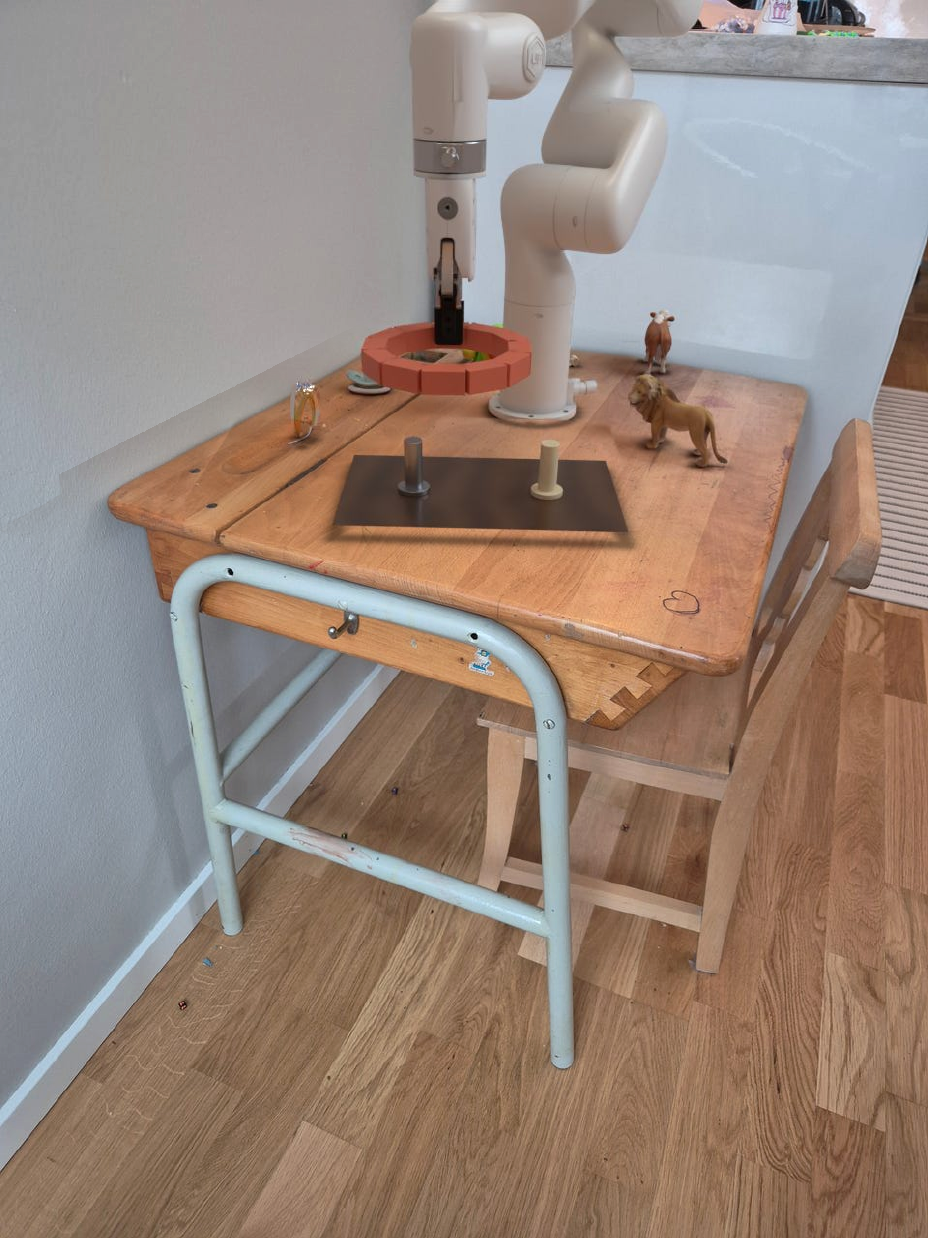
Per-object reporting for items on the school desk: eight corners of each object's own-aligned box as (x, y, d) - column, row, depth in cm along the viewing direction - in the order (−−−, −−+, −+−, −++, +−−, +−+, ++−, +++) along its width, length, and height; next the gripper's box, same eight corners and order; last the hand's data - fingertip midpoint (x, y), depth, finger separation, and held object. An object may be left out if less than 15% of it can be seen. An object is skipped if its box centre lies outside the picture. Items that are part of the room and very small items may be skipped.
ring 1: (306, 451, 110) (301, 390, 105) (284, 448, 110) (278, 387, 106) (331, 433, 115) (327, 374, 111) (310, 430, 116) (305, 371, 112)
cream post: (552, 484, 99) (557, 435, 96) (568, 497, 96) (572, 446, 93) (525, 489, 98) (528, 439, 95) (539, 502, 95) (543, 451, 92)
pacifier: (390, 397, 128) (396, 383, 133) (389, 356, 124) (395, 343, 129) (342, 395, 128) (350, 381, 133) (339, 353, 125) (347, 341, 130)
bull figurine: (668, 356, 148) (676, 307, 144) (666, 380, 137) (674, 328, 133) (643, 354, 149) (649, 305, 144) (638, 377, 138) (645, 325, 133)
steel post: (423, 481, 99) (422, 432, 96) (434, 494, 96) (434, 443, 93) (393, 486, 98) (392, 436, 95) (404, 499, 95) (403, 448, 92)
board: (604, 471, 106) (606, 460, 105) (627, 544, 90) (628, 531, 90) (354, 465, 106) (353, 454, 105) (332, 537, 90) (332, 524, 90)
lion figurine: (615, 442, 114) (623, 376, 109) (636, 432, 118) (644, 366, 113) (717, 473, 106) (730, 402, 102) (736, 460, 110) (750, 391, 105)
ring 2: (533, 396, 85) (534, 372, 84) (353, 393, 85) (352, 369, 84) (526, 344, 100) (527, 323, 98) (374, 341, 100) (373, 320, 99)
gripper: (485, 169, 81) (481, 362, 92) (486, 151, 95) (482, 321, 105) (406, 168, 82) (411, 361, 92) (418, 150, 95) (421, 320, 105)
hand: (449, 338), depth 98 cm, fingers closed on ring 2, 2 cm apart
